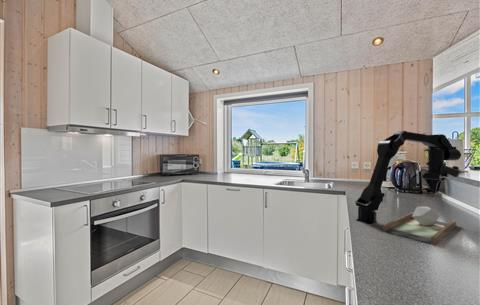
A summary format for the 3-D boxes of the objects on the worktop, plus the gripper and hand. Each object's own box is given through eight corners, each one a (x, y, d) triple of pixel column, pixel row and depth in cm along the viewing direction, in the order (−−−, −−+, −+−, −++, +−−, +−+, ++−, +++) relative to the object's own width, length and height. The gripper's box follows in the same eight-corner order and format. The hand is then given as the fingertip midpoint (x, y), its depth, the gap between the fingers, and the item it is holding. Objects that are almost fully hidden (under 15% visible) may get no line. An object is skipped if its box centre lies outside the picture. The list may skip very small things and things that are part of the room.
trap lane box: (383, 231, 88) (383, 225, 88) (411, 216, 108) (411, 212, 108) (434, 245, 75) (434, 238, 75) (455, 225, 95) (455, 220, 95)
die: (440, 231, 89) (446, 211, 92) (420, 219, 91) (426, 200, 94) (424, 231, 97) (430, 212, 100) (405, 220, 98) (411, 202, 101)
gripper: (454, 161, 92) (454, 197, 93) (463, 160, 103) (462, 193, 104) (421, 160, 101) (421, 193, 102) (432, 159, 112) (432, 189, 113)
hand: (435, 192), depth 105 cm, fingers open, 5 cm apart
